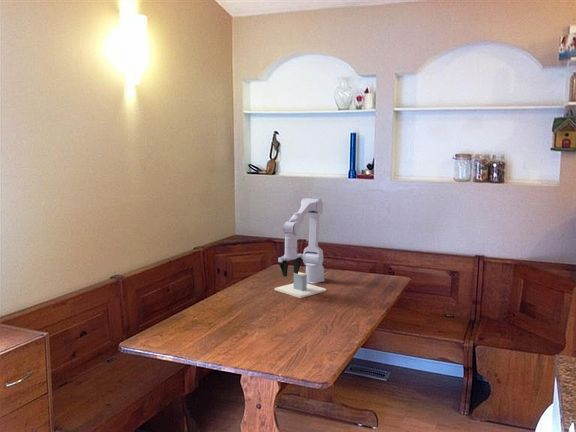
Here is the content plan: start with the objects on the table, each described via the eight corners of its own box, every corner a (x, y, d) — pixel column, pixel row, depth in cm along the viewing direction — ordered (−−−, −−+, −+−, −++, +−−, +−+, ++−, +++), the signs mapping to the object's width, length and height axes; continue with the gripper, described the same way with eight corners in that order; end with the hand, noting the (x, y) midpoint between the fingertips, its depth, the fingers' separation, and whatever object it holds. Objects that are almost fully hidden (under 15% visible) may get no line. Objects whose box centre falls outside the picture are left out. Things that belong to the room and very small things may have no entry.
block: (297, 287, 261) (298, 271, 259) (306, 289, 256) (306, 274, 255) (293, 288, 259) (293, 272, 257) (302, 291, 254) (302, 275, 253)
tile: (300, 283, 271) (300, 281, 271) (326, 290, 259) (326, 288, 258) (274, 290, 259) (274, 288, 259) (300, 298, 246) (300, 296, 246)
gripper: (295, 243, 257) (295, 270, 259) (273, 247, 247) (273, 275, 249) (306, 245, 252) (305, 273, 254) (284, 249, 242) (283, 278, 244)
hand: (290, 274), depth 251 cm, fingers open, 7 cm apart
